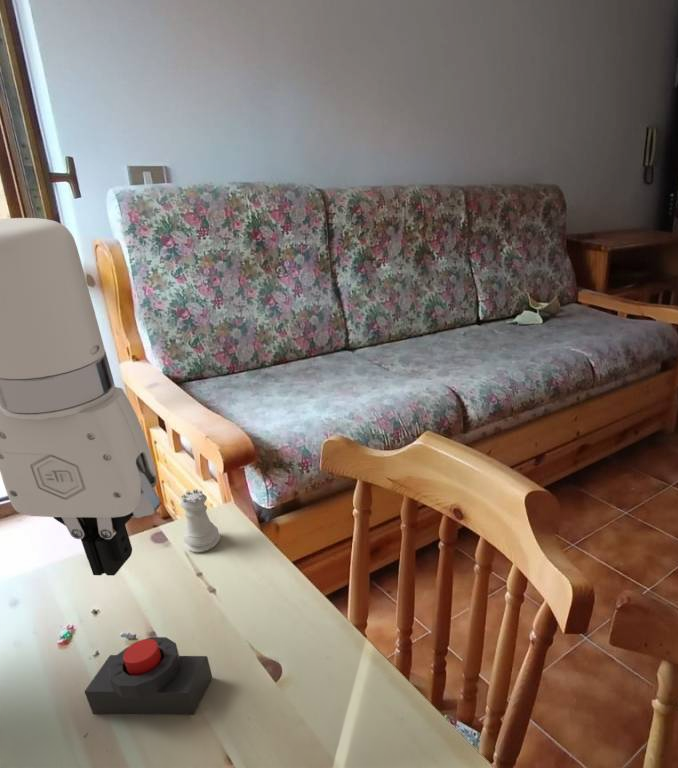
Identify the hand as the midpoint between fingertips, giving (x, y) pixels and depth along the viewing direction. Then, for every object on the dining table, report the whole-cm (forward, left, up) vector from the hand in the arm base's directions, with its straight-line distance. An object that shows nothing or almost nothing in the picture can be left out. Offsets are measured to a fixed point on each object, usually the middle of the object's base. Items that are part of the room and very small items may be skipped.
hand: (113, 564), depth 57 cm
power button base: (0, 0, -17) cm, 17 cm away
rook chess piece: (+3, +24, -17) cm, 30 cm away
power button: (0, 0, -13) cm, 13 cm away
